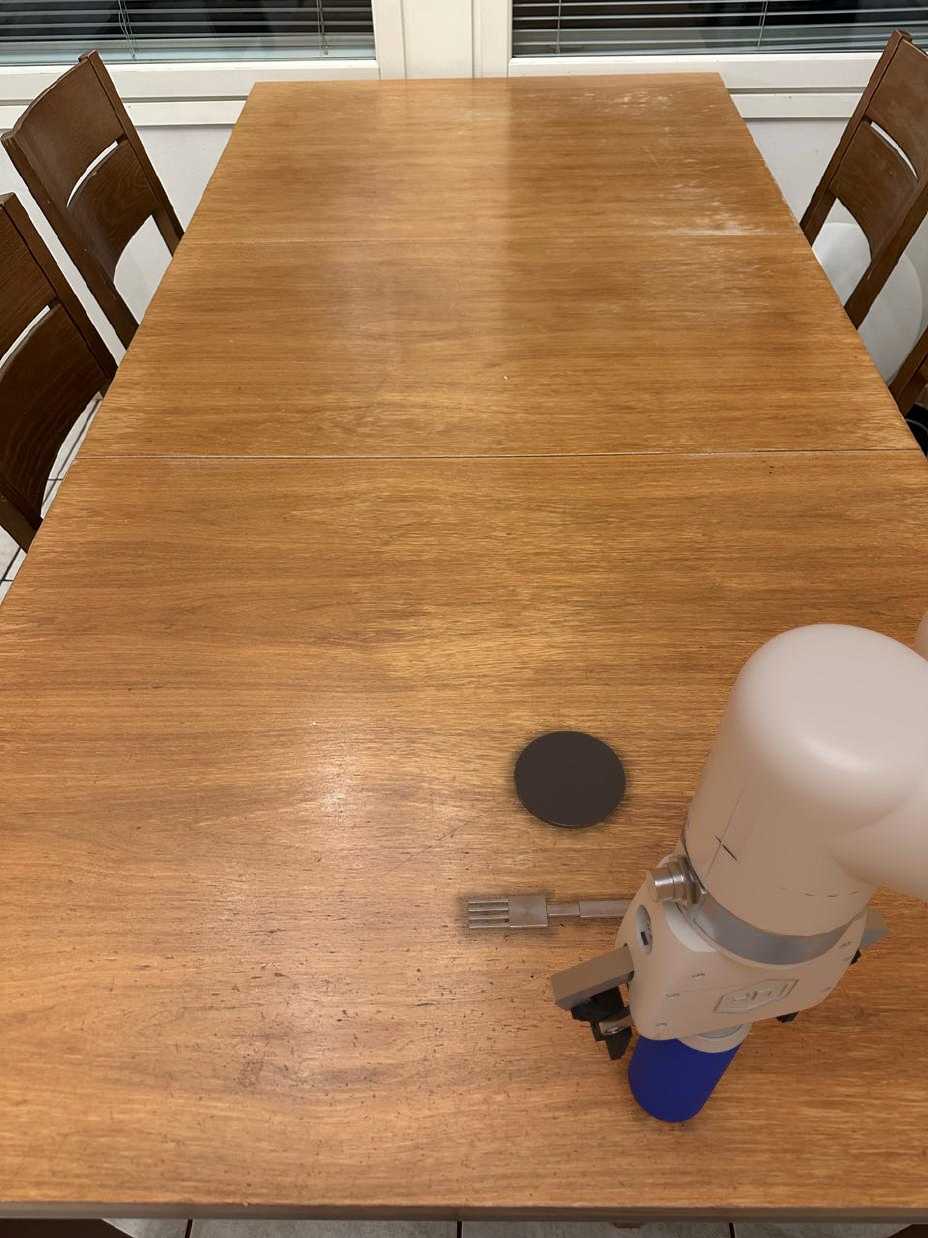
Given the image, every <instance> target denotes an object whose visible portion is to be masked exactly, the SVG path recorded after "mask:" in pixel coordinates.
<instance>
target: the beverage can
mask: <svg viewBox="0 0 928 1238" xmlns="http://www.w3.org/2000/svg"><path fill="white" fill-rule="evenodd" d="M753 1023H754V1022H751V1023H746V1024H742V1025H737V1026H733V1027H728V1028H723V1029H719V1030H714V1031H709V1032H705V1033H700V1034H695V1035H690V1036H685V1037H680V1038H674V1039H668V1040H652V1039H649V1038H646V1037H644V1036H642V1035H641V1034H639V1035H638V1038H637V1041H636V1044H635V1046H634V1048H633V1049H634V1050H633V1051H632V1055H631V1058H630V1060H629V1064H628V1070H627V1079H628V1085H629V1088H630V1091H631V1093H632V1095H633V1097H634V1099H635V1101H636V1103H638V1105H639V1106H640V1107H641V1109H643V1111H645V1112H646V1113H647V1114H649V1115H650V1116H652V1117H653V1118H655V1119H657V1120H661V1121H662V1122H667V1123H681V1122H685V1121H688V1120H690V1119H692V1118H694V1117H695V1116H696V1115H698V1114H699V1112H700V1111H701V1110H702V1109H703V1108H704V1106H705V1105H706V1103H707V1102H708V1099H709V1098H710V1096H711V1095H712V1093H713V1092H714V1090H715V1089H716V1087H717V1085H718V1084H719V1082H720V1080H721V1078H722V1077H723V1075H724V1074H725V1072H726V1071H727V1069H728V1067H729V1065H730V1064H731V1062H732V1061H733V1059H734V1057H735V1056H736V1054H738V1052H739V1050H740V1048H741V1047H742V1044H743V1043H744V1041H745V1040H746V1038H747V1036H748V1035H749V1033H750V1032H751V1029H752V1026H753Z"/></svg>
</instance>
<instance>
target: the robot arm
mask: <svg viewBox="0 0 928 1238" xmlns="http://www.w3.org/2000/svg"><path fill="white" fill-rule="evenodd" d="M913 642H914V644H913V649H912V648H911V647H909V646H908V645H906V644H904V643H902V642H900V641H898V640H897V639H895V638H892V637H890V636H888V635H885V634H883V633H880V632H878V631H875V630H871V629H869V628H865V627H861V626H856V625H851V624H842V623H814V624H809V625H803V626H799V627H794V628H792V629H789V630H787V631H783V632H782V633H779V634H777V635H775V636H774V637H772V638H769V640H767V641H765V643H764V644H762V645H761V646H759V647H758V648H757V649H756V650H755V651H754V652H753V653H752V654H751V655H750V656H749V658H748V659H747V660H746V661H745V663H744V664H743V665H742V666H741V668H740V670H739V672H738V673H737V676H736V679H735V681H734V682H733V686H732V688H731V690H730V693H729V696H728V698H727V700H726V704H725V707H724V710H723V713H722V715H721V718H720V721H719V723H718V727H717V730H716V732H715V735H714V738H713V741H712V744H711V747H710V749H709V753H708V754H707V758H706V761H705V764H704V766H703V769H702V772H701V775H700V777H699V780H698V784H697V786H696V788H695V791H694V793H693V797H692V800H691V802H690V806H689V808H688V811H687V814H686V817H685V819H684V822H683V825H682V828H681V831H680V834H679V836H678V839H677V842H676V844H675V847H674V850H673V852H672V853H670V854H668V855H666V856H664V857H662V858H661V859H660V861H659V862H658V863H657V864H656V866H655V867H654V868H651V869H646V871H645V880H643V883H642V884H641V885H640V887H639V889H638V890H637V892H636V894H635V895H634V896H633V899H631V900H632V902H631V904H630V906H629V908H628V910H627V912H626V914H625V916H624V917H623V918H622V921H621V924H620V926H619V929H618V931H617V934H616V937H615V940H614V946H613V950H612V951H609V952H606V953H604V954H601V955H599V956H597V957H594V958H591V959H589V960H587V961H584V962H582V963H579V964H576V965H574V966H571V967H569V968H565V969H563V970H561V971H559V972H556V973H553V974H552V975H550V976H549V977H548V978H547V980H548V984H549V987H550V992H551V996H552V999H553V1003H554V1005H555V1006H557V1007H558V1008H560V1009H562V1010H564V1011H565V1012H570V1014H571V1018H572V1019H573V1020H576V1021H579V1022H580V1023H583V1022H587V1023H589V1025H590V1029H591V1032H592V1036H593V1038H594V1041H595V1043H600V1042H604V1043H605V1046H606V1049H607V1052H608V1056H609V1058H610V1060H611V1062H613V1061H617V1060H622V1058H623V1056H625V1055H626V1052H627V1049H628V1047H629V1045H630V1043H631V1041H632V1037H633V1029H632V1026H633V1025H635V1026H634V1027H635V1028H636V1031H637V1033H638V1034H639V1035H640V1034H641V1035H642V1036H644V1037H646V1038H649V1039H652V1040H668V1039H674V1038H680V1037H685V1036H690V1035H695V1034H700V1033H705V1032H709V1031H714V1030H719V1029H723V1028H728V1027H733V1026H737V1025H742V1024H746V1023H751V1022H753V1023H754V1022H760V1021H763V1020H767V1019H772V1018H775V1019H776V1021H778V1022H781V1023H782V1024H785V1023H791V1022H793V1021H794V1020H795V1018H796V1017H797V1016H798V1015H799V1013H800V1012H801V1011H804V1010H807V1009H810V1008H813V1007H815V1006H817V1005H819V1004H821V1003H823V1001H824V1000H826V999H827V998H828V997H829V995H830V994H831V993H832V992H833V990H834V989H835V988H836V986H837V985H838V983H839V982H840V980H841V979H842V978H843V976H844V975H845V973H846V971H847V970H848V968H849V966H852V965H854V964H857V962H858V959H859V958H861V956H862V953H861V951H860V949H868V948H869V947H870V946H872V945H874V944H875V943H877V942H878V941H880V940H882V939H884V938H885V937H886V936H888V935H889V934H890V932H891V931H890V929H889V927H888V925H887V923H886V921H885V919H884V918H883V916H882V915H883V914H882V913H881V912H880V910H879V908H877V907H869V901H870V900H871V898H872V897H873V896H874V894H875V893H876V891H877V890H878V889H879V887H883V888H886V889H888V890H891V891H894V892H896V893H899V894H902V895H905V896H907V897H910V898H913V899H916V900H918V901H922V902H924V903H926V904H928V608H927V609H926V611H925V612H924V614H923V616H922V618H921V620H920V622H919V624H918V626H917V628H916V632H915V636H914V641H913ZM624 984H625V986H626V989H627V991H628V1004H627V1005H625V1003H624V1000H623V996H622V993H621V990H620V986H622V985H624Z"/></svg>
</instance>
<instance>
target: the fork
mask: <svg viewBox="0 0 928 1238" xmlns="http://www.w3.org/2000/svg"><path fill="white" fill-rule="evenodd" d="M632 900H633V899H618V900H617V899H615V900H614V899H613V900H610V899H609V900H581V901H578V903H570V904H569V903H568V904H547V897H546V894H531V895H527V894H526V895H525V894H523V895H507V897H492V898H468V899H467V902H468V903H467V904H468V905H488V904H507V905H493V906H469V907H468V913H494V912H507V913H505V914H503V913H502V914H476V915H475V914H474V915H473V914H472V915H468V921H469V922H474V921H477V922H479V921H503V920H508V922H482V923H481V922H480V923H469V924H468V928H469V930H482V929H485V930H486V929H487V930H488V929H509V930H524V929H526V930H527V929H548V928H549V921H548V920H549V919H548V918H562V917H563V918H567V917H568V918H569V917H570V918H571V917H579V919H580V920H586V919H587V920H588V919H618V918H619V919H620V918H621V919H623V918H624V916H625V914H626V912H627V910H628V908H629V906H630V904H631V902H632Z"/></svg>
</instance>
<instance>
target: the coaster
mask: <svg viewBox="0 0 928 1238" xmlns="http://www.w3.org/2000/svg"><path fill="white" fill-rule="evenodd" d="M513 775H514V776H513V781H514V782H513V783H514V788H515V791H516V795H517V796H518V798H519V800H520V801H521V803H522V805H523V806H524V807H525V808H526V809H527V810H528V811H529V812H530V813H531V814H532V815H533V816H534V817H536V818H538V819H539V820H541V821H543V822H545V823H547V824H549V825H552V826H556V827H558V828H565V829H583V828H587V827H591V826H595V825H597V824H599V823H602V822H603V821H605V820H606V819H607V818H609V817H610V816H611V815H612V814H614V813H615V811H616V810H617V809H618V808H619V806H620V804H621V802H622V801H623V799H624V796H625V795H624V794H625V791H626V784H627V783H626V782H627V779H626V773H625V769H624V766H623V764H622V762H621V760H620V758H619V756H618V755H617V754H616V753H615V751H614V750H613V749H612V748H611V747H609V745H607V744H606V742H603V741H602V740H601V739H599V738H597V737H595V736H593V735H590V734H587V733H584V732H580V731H573V730H560V731H559V730H557V731H553V732H549V733H546V734H543V735H541V736H539V737H537V738H535V739H533V740H532V741H531V742H530V743H528V744H527V745H526V746H525V747H524V748H523V750H522V751H521V752H520V754H519V756H518V758H517V759H516V763H515V767H514V771H513Z"/></svg>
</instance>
